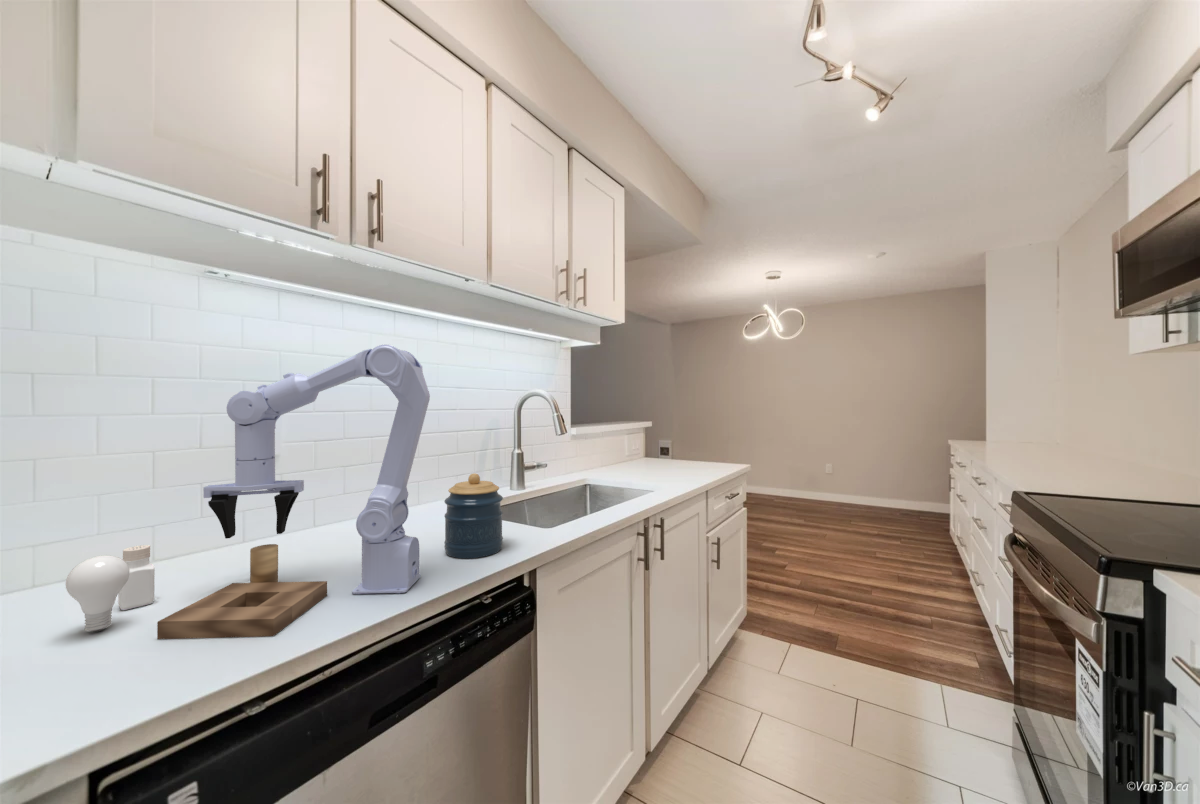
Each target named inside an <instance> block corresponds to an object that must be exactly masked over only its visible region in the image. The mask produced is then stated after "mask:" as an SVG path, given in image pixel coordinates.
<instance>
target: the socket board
mask: <svg viewBox="0 0 1200 804" xmlns="http://www.w3.org/2000/svg"><path fill="white" fill-rule="evenodd" d="M327 596H328V581H327V580H325V581H324V580H323V581H278V582H266V583H250V582H233V583H230V584H228V585H225V586H224V587H222V588H221V589H218V590H216V591H215V592H212V593H211V594H208V595H206V596H204V597H203V598H201V599H199V600H196V601H194V602H193V603H190V604H189V605H187V606H185V607H183V608H181V609H179V610H177V611H174V613H171V614H170V615H168V616H166V617H164V618H162V619H160V620H158V621H157V624H156V625H157V626H156V627H157V629H156V630H157V637H156V638H157V640H176V639H177V640H179V639H182V640H183V639H214V638H215V639H217V638H218V639H220V638H251V637H252V638H256V637H258V638H260V637H274V636H276V635H277V634H278V633H280V632H281V631H283V630H284V629H285V628H287V627H288V626H289V625H290V624H292V623H293V622H295V621H296V620H297V619H298V618H300V617H301V616H302V615H303V614H305V613H306V612H308V611H309V610H310V609H312V607H314V606H316V605H317V604H318V603H319V602H321V601H322V600H324V599H325V598H326V597H327Z"/></svg>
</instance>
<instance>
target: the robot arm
mask: <svg viewBox="0 0 1200 804" xmlns="http://www.w3.org/2000/svg"><path fill="white" fill-rule="evenodd" d="M282 376H283V379H280V380H278V381H275V382H272V383H271V384H268V385H267V384H260V385H258V386H257V390H256V391H251V390H240V391H238V392H237V393H236V394H234V395H232V397H230V399H229V400H228V402H227V405H226V413H227V415H228V416H227V417H229V418H230V420H231V421H232V422H234V464H235V465H234V468H235V470H234V472H235V473H234V475H235V477H234V481H235V482H234V483H233V482H232V483H224V484H223V483H221V484H209V485H205V486H204V487H203V499H210V500H208V501H207V503H208V504H207V505H208V506H209V508H210V509H211V510H212V511H213V513H214V514H215V516H216V518H217V519H218V521H219V523H220V526H221V528H222V531H223V534H224V539H231V538H233V537H235V535H236V530H237V529H236V510H237V509H236V508H237V503H238V497H239V496H249V495H263V494H264V495H265V494H266V495H267V494H276V495H274V498H273V499H274V505H275V510H276V511H275V512H276V523H275V524H276V526H275V527H276V530H275V531H276V535H281V534H283V533H284V532H286V527H287V521H288V518H289V516H290V514H291V513H290V512H291V510H292V508H293V505H294V504H295V501H296V499H297V498H298V496H299V493H302V492H303V491H304V490H305V484H304V483H305V480H304V479H302V480H301V479H299V480H295V479H294V480H289V479H288V480H276V423H277V421H278V420H279V418H280V417H281V416H284V415H285V414H288V413H290V412H292V411H294V410H298V409H299V408H302V407H305V406H307V405H310V404H311V403H314V402H316V400H317V398H318V395H319V393H320V392H323V391H326V390H329V389H331V388H334V387H337V386H339V385H342V384H345V383H347V382H350V381H352V380H356V379H358V378H361V377H363V378H364V377H365V378H376V379H377V380H378V381H380V382H381V383H383V384H384V385H386V386H387V388H388V389H389V391H390V392H391V393H392V394H393V395H394V396H395V398H396V399H397V400H398V401H397V402H398V403H397V407H396V411H395V414H394V418H393V422H392V426H391V429H390V433H389V437H388V441H387V444H386V448H385V450H384V451H385V452H384V455H383V458H382V459H383V460H382V462H381V463H382V464H381V466H380V469H379V475H378V478H377V482H376V484H375V487H374V488H373V490H372V492H371V494H370V495H369V497H368V498H367V502H366V505H365V507H364V509H363V510H362V511H361V512H360V513H359V514H358V516H357V519H356V522H355V528H356V531H357V533H358V535H359V536H360V537H361V583H359V584H358V585H357V586H356V587H355V588H353V589H352V590H351V594H355V595H358V594H360V595H361V594H394V593H395V594H398V593H399V594H400V593H403V594H404V593H406V592H408V591H409V590H410V588H412V586H413V585H414V584H415V583H417V581H418V580H419V579H420V578H421V573H420V540H419V538H418V537H416V536H409V535H407V534H406V530H405V529H404V527H403V525H404V524H405V523H406V521H407V520H408V517H409V507H408V506H409V505H408V503H407V502H408V497H409V490H408V482H409V479H410V475H411V471H412V467H413V465H414V459H415V456H416V452H417V448H418V444H419V441H420V437H421V433H422V429H423V427H424V422H425V418H426V415H427V414H426V413H427V410H428V406H429V403H430V397H431V395H430V391H429V389H428V385H427V382H426V379H425V376H424V373H423V365H422V364H421V363H420V361H418V360H417V358H416V357H415V356H414V355H413V354H412V353H411V352H409V351H407V350H403V349H399V348H398V347H396V346H394V345H393V344H392V345H391V344H379V345H377V346H375V347H374V348H368V349H364V350H362V351H359V352H358V353H356V354H354V355H352V356H350V357H348V358H346V359H343V360H340V361H338V362H337V363H334V364H332V365H330V366H328V367H326V368H323V369H322V370H319V371H317V372H314V373H313V374H311V375H309V376H308V375H305V374H304V373H293V372H288V373H285V374H283V375H282Z"/></svg>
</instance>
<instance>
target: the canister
mask: <svg viewBox="0 0 1200 804" xmlns="http://www.w3.org/2000/svg"><path fill="white" fill-rule="evenodd" d="M499 490H500V487H499V486H498V485H496V484H494V482H492V481H489V480H481V477H480V475H479V474H478V473H475V472H474V473H471V474H470V475H469V476H468V479H467V480H466V481H461V482H457V483H454V485H453V486H451V487H450V488H448V492H449V493H450V494H449V496H448V497H446V498H445V499H444V500H443V501H444V504H445V505H446V513H444V519H445V522H444V524H445V525H444V527H445V530H444V532H445V537H444V538H445V539H444V550H445V554H446V555H447V556H449V557H453V558H455V559H457V558H458V559H476V558H477V559H478V558H484V557H488V556H491V555H494V554H496V553H498V552H500V551H501V550H502V548H503V543H504V540H503V539H504V537H503V514H504V512H503V510H502V508H501V507H502V506H501V502H502V501H503V500H504V498H503V496H502V495H501V494H500V493H499V492H498V491H499Z"/></svg>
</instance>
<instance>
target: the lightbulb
mask: <svg viewBox="0 0 1200 804" xmlns="http://www.w3.org/2000/svg"><path fill="white" fill-rule="evenodd" d="M129 575H130V570H129V566H128V564H127V563H126V562H125V561H124V560H123V558H121V557H119V556H116V555H110V554H104V555H97V556H92V557H89V558H87V559H84V560H83V561H81V562H79V563H78V564H77V565H75V566H74V567H73V568H72V569H71V570H70V572H68V575H67V577H66V579H65V589H66V592H67V593H68V595H69V596H70V597H72V598H73V599H74V601H76V602H77V603H78V604H79V606H80V609H81V611H82V613H83V614H84V631H85V632H90V633H97V632H102V631H104V630H105V629H107V628H108V627H109V626H111V625H112V618H113V616H112V615H113V612H112V610H113V607H114V605H115V603H116V599H117V598H118V593H119V592H120V590H121V589H122V588H123V587H124V585H125V584H126V582H127V581H128V578H129Z"/></svg>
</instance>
